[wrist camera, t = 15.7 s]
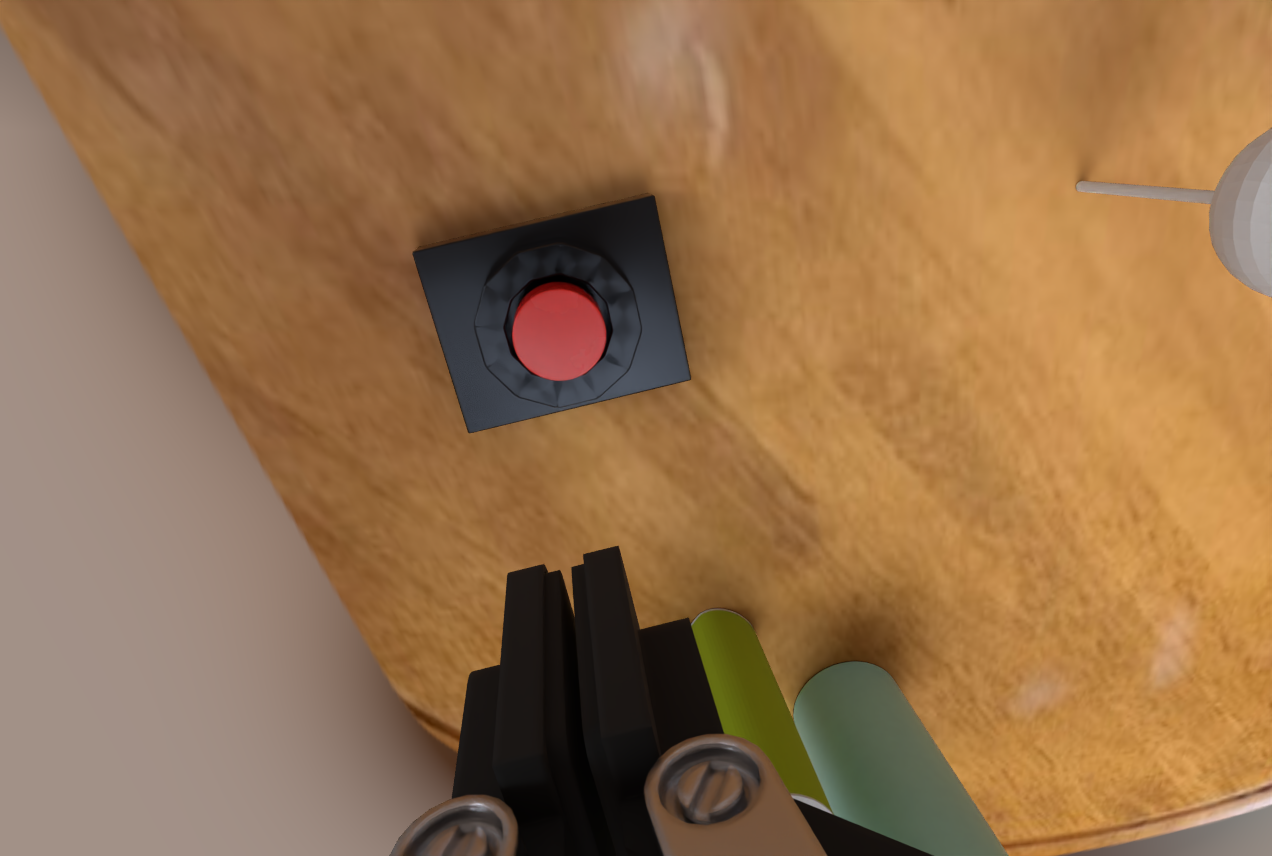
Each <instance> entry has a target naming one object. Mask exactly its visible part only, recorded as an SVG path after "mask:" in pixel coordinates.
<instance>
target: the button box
mask: <svg viewBox="0 0 1272 856" xmlns="http://www.w3.org/2000/svg"><path fill="white" fill-rule="evenodd" d="M412 254H413V257H414V260H415V264H416V267H417V270H418V273H419V276H420V280H421V283H422V286H423V289H424V292H425V296H426V299H427V302H428V305H429V308H430V312H431V315H432V318H433V321H434V324H435V328H436V331H437V334H438V337H439V341H440V344H441V347H442V350H443V353H444V357H445V360H446V363H447V366H448V369H449V373H450V376H451V379H452V382H453V385H454V389H455V392H456V395H457V398H458V401H459V405H460V408H461V411H462V414H463V417H464V421H465V424H466V427H467V430H468V433H473V432H478V431H482V430H486V429H490V428H494V427H498V426H502V425H507V424H511V423H515V422H519V421H523V420H527V419H531V418H535V417H540V416H544V415H548V414H552V413H556V412H560V411H564V410H569V409H573V408H577V407H581V406H585V405H589V404H593V403H597V402H602V401H606V400H610V399H614V398H618V397H622V396H626V395H631V394H635V393H639V392H643V391H647V390H651V389H655V388H659V387H664V386H668V385H672V384H676V383H680V382H684V381H688V380H691V375H690V370H689V365H688V360H687V355H686V350H685V345H684V340H683V335H682V330H681V325H680V320H679V315H678V310H677V305H676V300H675V295H674V290H673V285H672V280H671V275H670V270H669V265H668V260H667V255H666V250H665V245H664V240H663V235H662V230H661V225H660V221H659V216H658V211H657V206H656V201H655V196H654V195H652V194H650V193H645V194H641V195H637V196H632V197H628V198H624V199H620V200H615V201H611V202H607V203H603V204H598V205H594V206H590V207H586V208H581V209H577V210H573V211H569V212H564V213H560V214H556V215H551V216H547V217H543V218H539V219H534V220H530V221H526V222H522V223H517V224H513V225H509V226H505V227H500V228H496V229H492V230H488V231H483V232H479V233H475V234H471V235H466V236H462V237H458V238H453V239H449V240H445V241H441V242H436V243H432V244H428V245H424V246H419V247H418V248H417V249H416V250H415V251H413V253H412ZM550 282H567V283H571V284H574V285H577V286H579V287H580V288H582V289H584V290H585V291H587V292H588V293H589V294H590V295H591V296H592V297H593V298H594V300H595V301H596V303H597V304H598V306H599V308H600V310H601V313H602V316H603V319H604V322H605V326H606V344H605V348H604V351H603V354H602V356H601V357H600V359H599V361H598V362H597V363H596V365H595V366H594V367H593V368H592V369H590V370H589V371H588V372H587V373H585V374H583V375H582V376H579V377H577V378H574V379H571V380H566V381H553V380H548V379H545V378H542V377H540V376H537V375H536V374H534V373H532V372H531V371H530V370H529V369H527V368H526V367H525V366H524V365H523V363H522V362H521V361H520V359H519V358H518V356H517V354H516V352H515V349H514V346H513V341H512V328H513V322H514V316H515V312H516V310H517V307H518V305H519V303H520V302H521V300H522V299H523V298H524V297H525V296H526V294H528V293H529V292H530V291H531V290H533V289H534V288H536V287H538V286H540V285H542V284H545V283H550Z"/></svg>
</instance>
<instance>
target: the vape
mask: <svg viewBox="0 0 1272 856" xmlns="http://www.w3.org/2000/svg"><path fill="white" fill-rule="evenodd" d="M691 626H692V630H693V633H694V636H695V639H696V643H697V646H698V649H699V653H700V656H701V659H702V662H703V666H704V669H705V672H706V675H707V679H708V682H709V685H710V688H711V692H712V695H713V698H714V702H715V705H716V708H717V711H718V715H719V718H720V721H721V724H722V728H723V731H724V734H729V735H733V736H737V737H741V738H744V739H746V740H748V741H750V742H752V743H753V744H755V745H757V746H759V748H760V749H761V750H762V751H763V752H764V753H765V754H766V756H767V757H768V758H769V759H770V761H771V762H772V764H773V766H774V767H775V769H776V771H777V772H778V774H779V776H780V777H781V779H782V781H783V782H784V784H785V786H786V788H787V789H788V791H789V793H790V794H791V796H792V798H794V799H797V800H799V801H801V802H804V803H806V804H809V805H811V806H814V807H816V808H819V809H821V810H823V811H826V812H828V813H831V814H833V812H832V809H831V807H830V805H829V802H828V800H827V798H826V795H825V793H824V791H823V788H822V786H821V784H820V781H819V779H818V777H817V774H816V772H815V770H814V767H813V765H812V763H811V761H810V758H809V756H808V754H807V751H806V749H805V747H804V744H803V742H802V740H801V737H800V735H799V733H798V730H797V728H796V726H795V723H794V721H793V719H792V716H791V714H790V712H789V709H788V707H787V705H786V702H785V700H784V698H783V695H782V693H781V691H780V688H779V686H778V684H777V682H776V679H775V677H774V675H773V672H772V670H771V668H770V665H769V663H768V661H767V658H766V656H765V654H764V651H763V649H762V647H761V644H760V642H759V640H758V637H757V635H756V633H755V630H754V628H753V626H752V625H751V624H750V622H749V621H748V620H747V619H746V618H744V617H743V616H741V615H740V614H738V613H736V612H734V611H731V610H727V609H719V608H717V609H709V610H706V611H703V612H702V613H700V614H699V615H698V616H697V617H696V618H695V619H694V621H693V622H692V623H691ZM833 815H834V814H833Z"/></svg>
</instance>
